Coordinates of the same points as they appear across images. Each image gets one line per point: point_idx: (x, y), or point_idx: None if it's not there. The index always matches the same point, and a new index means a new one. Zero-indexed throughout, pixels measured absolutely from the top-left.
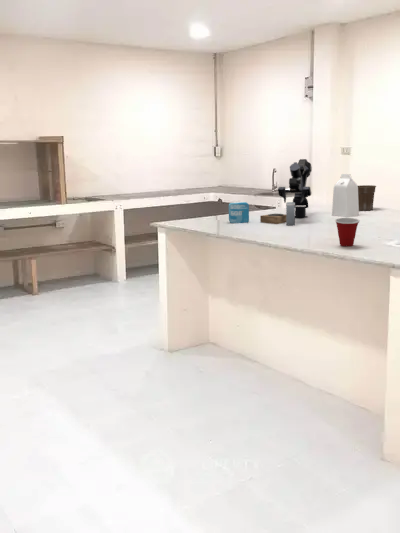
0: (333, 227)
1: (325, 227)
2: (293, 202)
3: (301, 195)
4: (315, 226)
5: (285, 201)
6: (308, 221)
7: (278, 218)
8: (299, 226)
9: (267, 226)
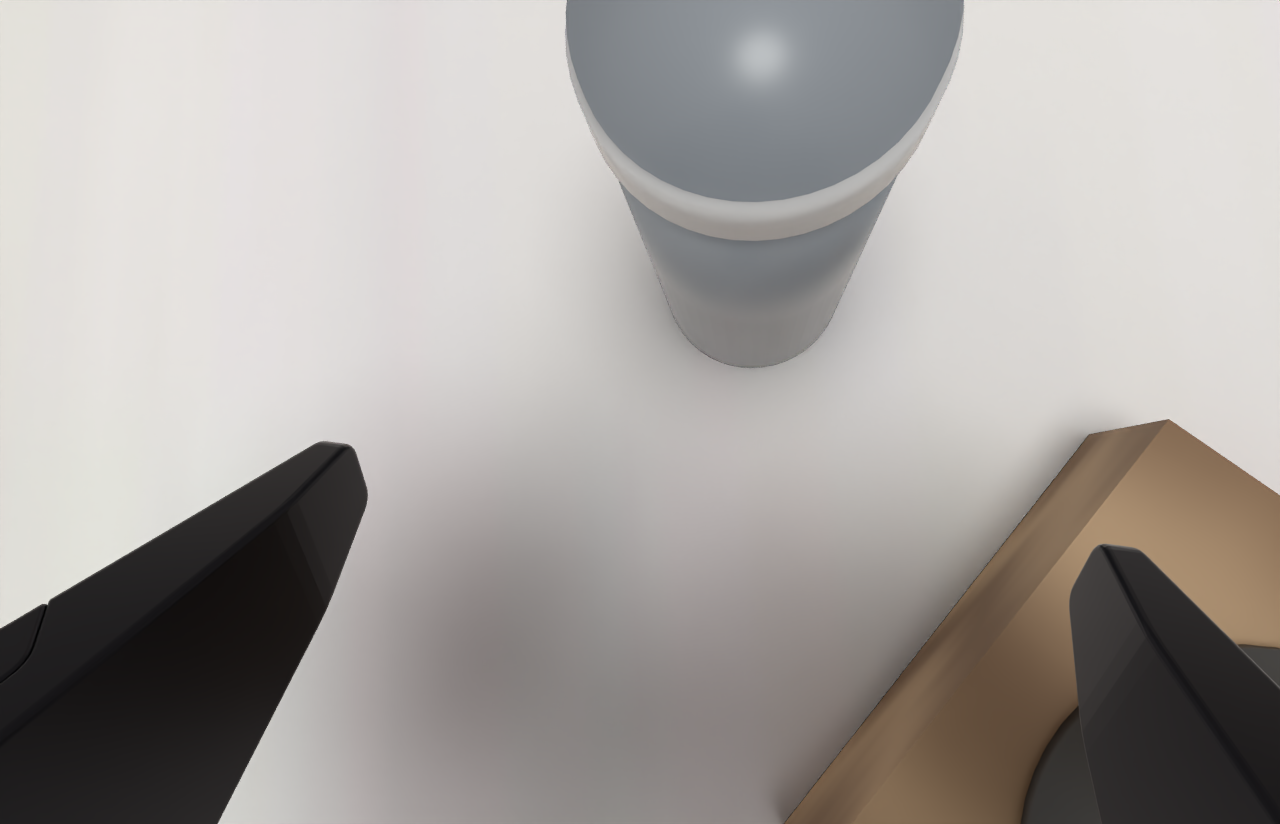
0: (26, 19)
1: (142, 13)
2: (623, 45)
3: (46, 689)
4: (292, 118)
5: (1091, 669)
6: (409, 810)
7: (1092, 494)
8: (569, 112)
9: (1234, 97)
